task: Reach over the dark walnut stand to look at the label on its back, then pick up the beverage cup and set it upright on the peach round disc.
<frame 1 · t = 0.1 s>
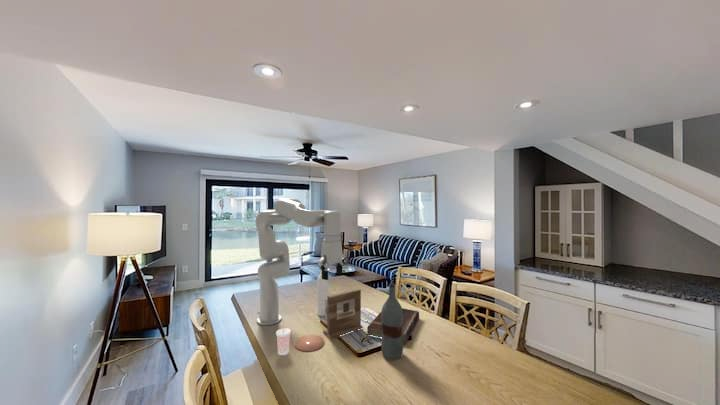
hand: (332, 276, 122), 31 cm above the table, tool pointing down, fingers open, 9 cm apart
peach round disc: (309, 343, 125), on the table
beverage cup: (283, 352, 118), on the table
mount stand: (343, 331, 137), on the table
water bottle: (324, 313, 158), on the table
vodka: (392, 355, 116), on the table
hardback book: (395, 328, 141), on the table
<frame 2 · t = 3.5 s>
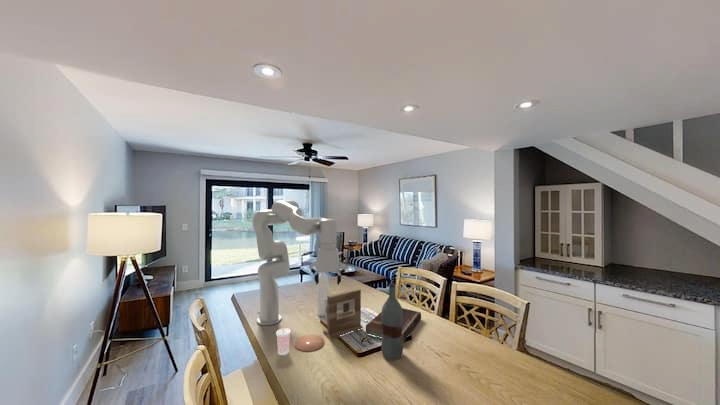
hand: (327, 283, 125), 27 cm above the table, tool pointing down, fingers open, 9 cm apart
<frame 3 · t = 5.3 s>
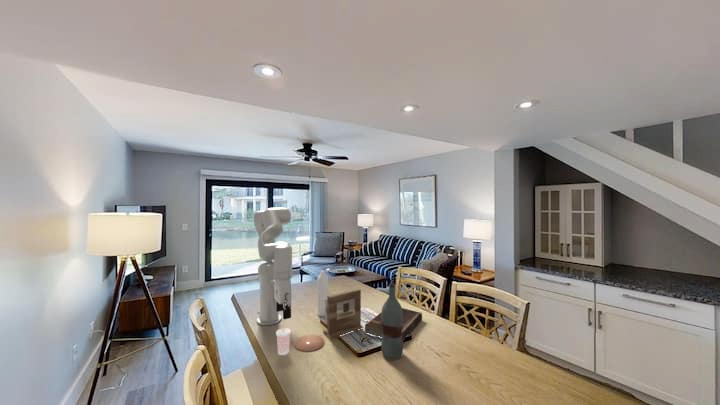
hand: (283, 314, 117), 16 cm above the table, tool pointing down, fingers open, 9 cm apart
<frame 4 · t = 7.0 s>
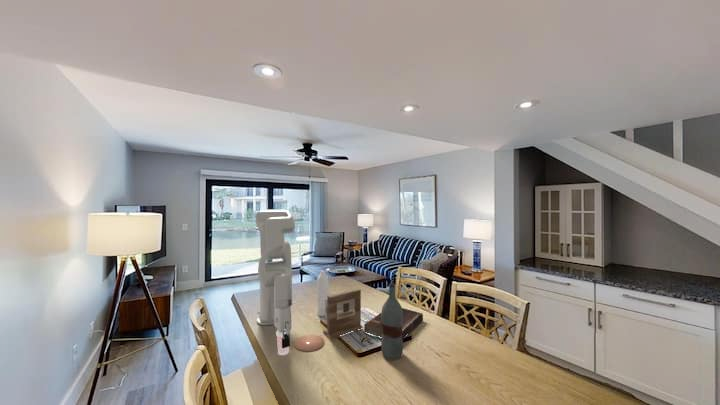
hand: (283, 343, 118), 4 cm above the table, tool pointing down, fingers closed on beverage cup, 6 cm apart
beverage cup: (283, 352, 118), on the table, touching gripper
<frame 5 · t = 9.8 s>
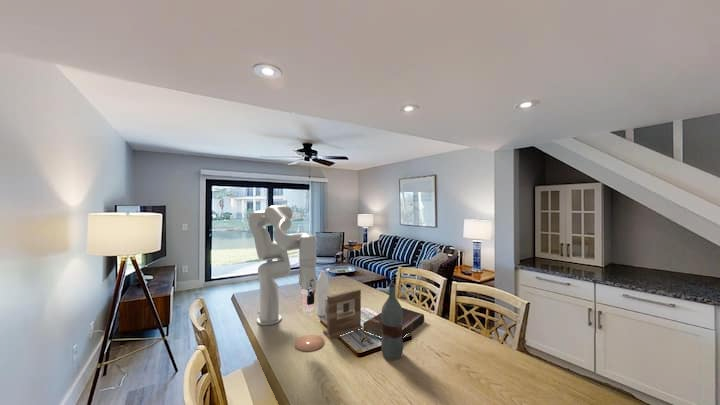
hand: (307, 301, 125), 19 cm above the table, tool pointing down, fingers closed on beverage cup, 6 cm apart
beverage cup: (307, 310, 125), point 15 cm above the table, touching gripper
when the fingers open (6 cm above the table, at t = 12.8 s): beverage cup drops 2 cm, resting on peach round disc.
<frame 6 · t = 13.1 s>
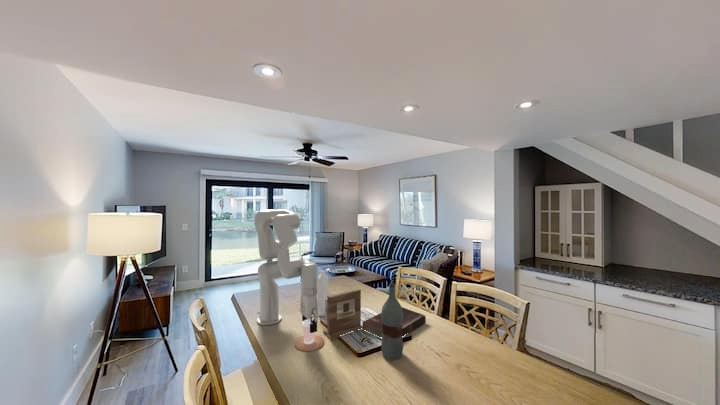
hand: (309, 327, 125), 7 cm above the table, tool pointing down, fingers open, 8 cm apart
beverage cup: (308, 341, 125), point 1 cm above the table, touching peach round disc
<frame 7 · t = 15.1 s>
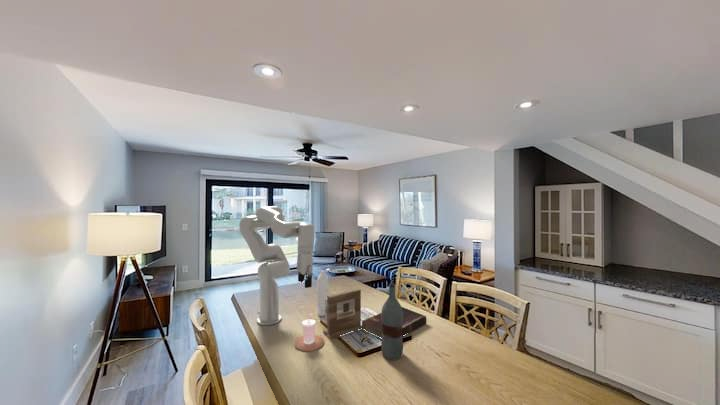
hand: (304, 284, 133), 25 cm above the table, tool pointing down, fingers open, 9 cm apart
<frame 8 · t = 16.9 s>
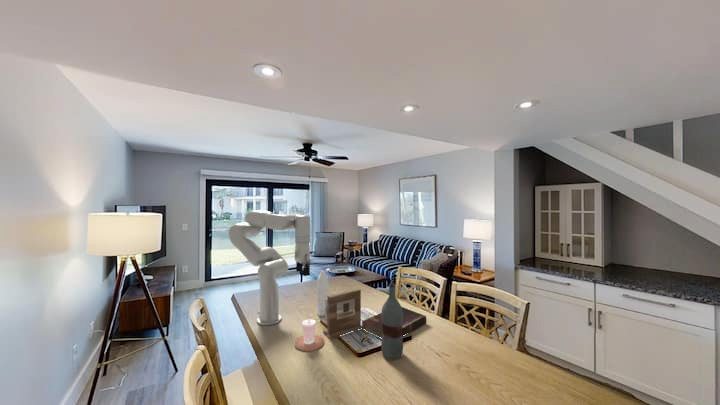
hand: (302, 273, 139), 28 cm above the table, tool pointing down, fingers open, 9 cm apart
at the end: beverage cup inside the target area on the peach round disc (0.3 cm from its centre), point 0.6 cm above the peach round disc's base; beverage cup tilted 0°; the gripper is holding nothing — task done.
